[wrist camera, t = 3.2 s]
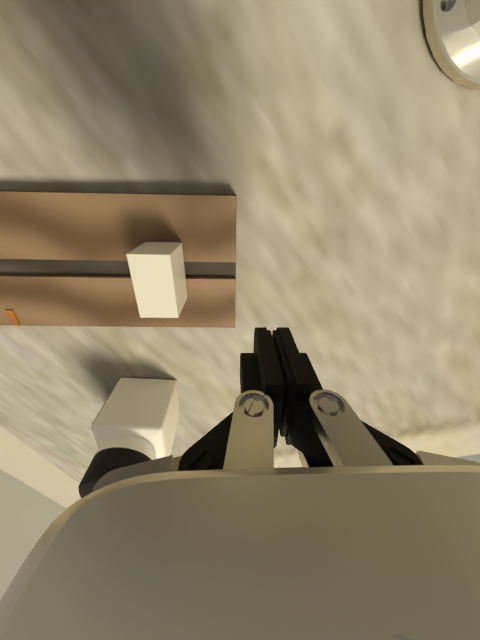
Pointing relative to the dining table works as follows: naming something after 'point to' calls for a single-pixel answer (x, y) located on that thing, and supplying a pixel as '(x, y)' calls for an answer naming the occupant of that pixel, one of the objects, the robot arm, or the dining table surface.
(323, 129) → the dining table surface
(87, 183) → the dining table surface
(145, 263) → the fader tab
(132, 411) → the medicine bottle
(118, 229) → the fader board
